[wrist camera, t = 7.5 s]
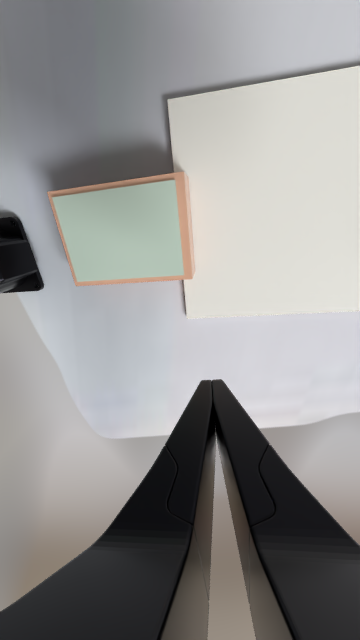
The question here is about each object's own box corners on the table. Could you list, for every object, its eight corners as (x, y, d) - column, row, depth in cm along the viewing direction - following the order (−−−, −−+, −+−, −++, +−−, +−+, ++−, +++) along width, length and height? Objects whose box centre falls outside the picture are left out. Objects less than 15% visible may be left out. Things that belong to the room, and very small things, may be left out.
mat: (187, 316, 22) (186, 318, 21) (168, 102, 15) (167, 99, 15) (366, 308, 20) (370, 310, 19) (436, 56, 13) (444, 50, 13)
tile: (195, 271, 19) (90, 278, 21) (188, 177, 16) (68, 194, 18) (192, 279, 17) (74, 286, 19) (183, 170, 14) (45, 191, 16)
